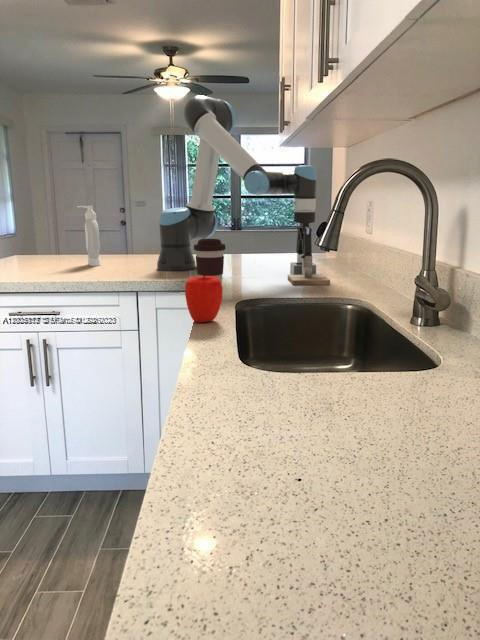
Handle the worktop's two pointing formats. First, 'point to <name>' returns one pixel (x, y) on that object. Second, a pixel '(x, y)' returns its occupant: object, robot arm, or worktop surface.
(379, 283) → the worktop surface
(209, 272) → the coffee cup
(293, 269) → the gray square block
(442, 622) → the worktop surface
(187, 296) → the apple
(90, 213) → the soap bottle
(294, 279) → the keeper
